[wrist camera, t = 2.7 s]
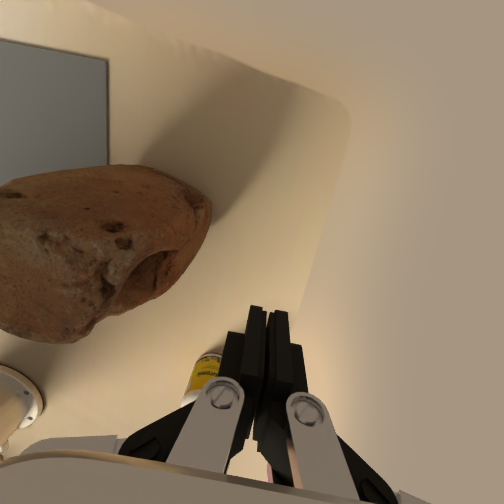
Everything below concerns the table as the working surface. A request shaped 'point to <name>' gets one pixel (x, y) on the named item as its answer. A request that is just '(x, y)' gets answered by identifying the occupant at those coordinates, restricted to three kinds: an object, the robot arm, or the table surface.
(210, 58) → the table surface
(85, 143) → the mat
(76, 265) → the block
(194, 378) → the supplement bottle
